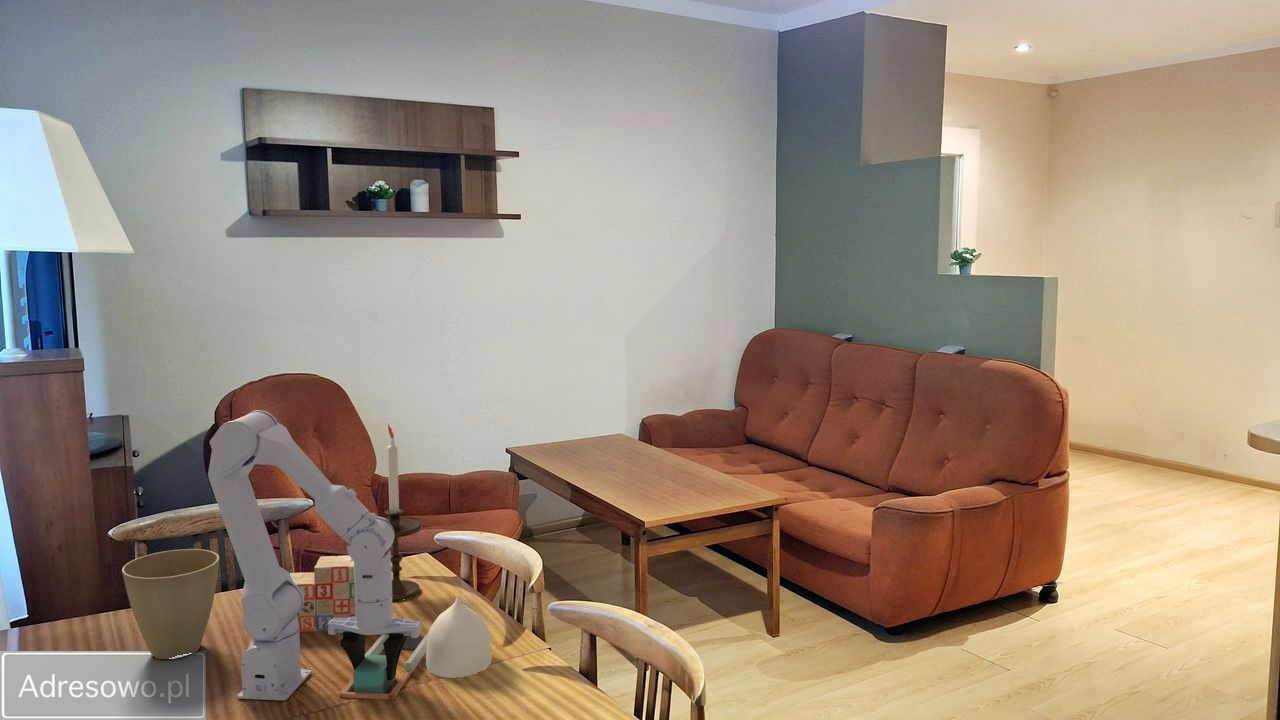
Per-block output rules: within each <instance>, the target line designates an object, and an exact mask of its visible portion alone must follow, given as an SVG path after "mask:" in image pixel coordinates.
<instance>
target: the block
mask: <svg viewBox="0 0 1280 720" xmlns="http://www.w3.org/2000/svg"><path fill="white" fill-rule="evenodd" d="M352 675H353V677H352V678H353V679H354V687H353V692H357V693H379V694H386V693H387V691H388V690H389V688H390V687H391V685H392V684H393V682H395V680H396V676H395V677H394V678H393V680H391V681H390V680H388V679H387V661H386V654H384V655H382V654H379V655H367V656H366V657H365V658H364V660H363V661H362V662H361V663H360V664H359V666H358V667H357V668H356V669H355V670H354V669H353V672H352Z"/></svg>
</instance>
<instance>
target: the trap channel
mask: <svg viewBox="0 0 1280 720" xmlns="http://www.w3.org/2000/svg"><path fill="white" fill-rule="evenodd" d="M429 631H430V629H429V630H428V632H427V633H426V634H425V636H422V635H419V636H418V637H417V638H411V636H407V639H406V641H405V643H404V645H403V648H402V650H406V651H407V650H408V651H409V650H412V651H413V652H412V654H411V655H410V656H409V658H408V659H407V660H406V661H405V671H404V673H403V674H402V676H401V677H400V679H399V680H398V681H397V683H396V684H395V685H394V687H393V688H392V690H391V691H390V693H385V694H379V693H357V692H354V691H352V690H353V689H354V679H353V677H352V678H351V679H350V680H349V682H348V683H347V684H346V685H345V686H344V687H343V689H342V690H341V692H340V693H339V698H346V699H347V698H349V699H350V698H351V699H367V700H368V699H372V700H388V701H389V700H390V701H392V700H393V701H394V699H395V698H396V696H397V695H398V694H399V693H400V690H401V689H402V688H403V686H404V685H405V684H406V682H407V681H408V679H409V678H410V676H411V675H412V673H413V672H414V671H415V669H416V668H417V666H418V665H419V663H420V662H421V660H422V659H423V658H424V657H425V655H426V652H427V637H428V634H429ZM388 637H389V635H380V636H379V637H378V638H377V639H376V640H375V642H374V643H373V645H371V647H370V648H369V649H368V651H366V652H365V657H366V656H367V655H381V653H382V652H383V650H385V649H384V646H383V643H384V642H385V640H386V639H387V638H388Z"/></svg>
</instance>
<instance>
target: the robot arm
mask: <svg viewBox="0 0 1280 720" xmlns="http://www.w3.org/2000/svg"><path fill="white" fill-rule="evenodd" d="M209 445H210V448H211V454H210V460H209V466H208V471H207V477H208V481H209V484H210V486H211V489H212V492H213V494H214V498H215V501H216V503H217V506H218V508H219V512H220V515H221V518H222V520H223V523H224V525H225V526H224V527H225V528H226V531H227V535H228V537H229V540H230V543H231V546H232V548H233V552H234V554H235V556H236V561H237V563H238V566H239V568H240V571H241V574H242V577H243V579H244V584H243V589H242V591H241V592H242V593H241V596H240V602H241V606H242V609H243V614H242V621H241V622H242V625H243V629H244V630H245V632H246V633H247V634H248V635H249V636H250V641H249V645H248V647H247V650H245V651H244V653H243V655H242V657H241V660H240V670H241V672H240V673H241V687H242V688H241V689H242V690H241V691H240V692H239V693H237V695H236V696H237V697H236V698H237V699H239V700H241V699H244V700H266V701H286V700H288V699H289V698H290V697H291V696H292V694H293V693H295V691H296V690H297V689H298V688H299V687H300V686H301V685H302V684H303V683H304V681H305V680H306V679H307V678H308V677H309V676H310V675H311V674H312V670H310V669H301V668H302V667H301V666H302V665H301V644H300V641H301V640H300V631H299V623H298V620H297V614H298V613H299V612H300V611H301V609H302V607H303V604H304V596H303V593H302V591H301V589H300V588H299V587H298V586H297V585H296V584H295V583H294V582H293V580H292V578H291V576H290V573H291V572H289V571H288V570H286V569H285V568H283V567H281V566H280V564H279V561H278V558H277V555H276V552H275V550H274V546H273V544H272V541H271V538H270V535H269V532H268V529H267V526H266V524H265V521H264V518H263V515H262V511H261V509H260V506H259V503H258V500H257V498H256V495H255V492H254V489H253V486H252V483H251V481H250V478H249V475H250V472H251V471H252V470H253V468H254V466H255V465H265V466H275V467H277V468H279V469H280V470H281V471H282V472H283V473H284V474H286V475H287V476H288V477H289V478H290V479H291V480H293V482H295V484H297V486H299V487H300V488H301V489H302V490H303V491H304V492H306V493H307V494H308V495H309V496H310V497H312V499H314V502H315V503H314V505H315V512H316V514H317V515H318V516H319V517H320V518H321V519H322V520H323V521H324V522H325V523H326V524H327V525H328V526H330V528H331V529H332V530H333V531H334V532H335V533H336V534H337V535H338V536H340V538H341V539H342V540H343V541H345V542H346V543H347V544H348V545H346V551H347V553H348V555H349V556H350V557H351V559H352V560H353V561H354V588H355V617H350V618H333V619H332V620H331V621H330V622H329V623H328V635H329V636H331V635H333V636H335V635H336V634H342V638H341V639H340V642H339V643H340V647H341V648H342V649H343V650H344V652H345V653H346V656H347V657H348V659H349V661H350V664H351V665H352V668H353V671H354V670H355V669H356V668H357V667H358V666H359V664H360V663H361V662H362V661H363V660H364V658H365V654H366V639H367V636H374V635H375V636H376V635H377V636H379V635H380V636H381V635H389V637H388V638H387V639H386V640H385V642H384V643H383V646H384V649H383V650H384V653H385V654H384V655H386V661H387V679H388V680H390V681H391V680H393V678H394V677H395V678H396V675H397V669H398V663H399V660H400V656H401V653H402V650H403V649H402V648H403V645H404V643H405V641H406V639H407V636H411V638H417V637H418V636H421V634H422V623H421V621H416V620H415V621H414V620H410V619H405V618H400V617H395V616H394V614H393V612H394V611H393V602H392V580H393V572H392V571H391V567H392V562H391V556H390V555H391V550H389V549H390V548H392V543H393V541H394V538H395V533H394V529H393V527H392V526H391V524H390V523H389V521H388V520H387V519H385V517H382V516H378V515H377V514H376V513H375V512H371V511H370V510H369V509H368V508H367V507H366V506H365V505H364V504H363V503H362V502H361V501H360V500H359V499H358V498H357V497H356V496H357V495H358V493H357V492H356V491H355V490H354V489H353V488H350V489H348V488H347V487H346V486H345V485H339V484H332V482H331V481H330V480H329V479H328V478H327V476H325V475H324V473H323V472H322V471H321V469H319V467H317V465H316V464H315V463H314V462H313V461H312V460H311V459H310V458H309V456H308V455H307V454H306V452H304V451H303V449H302V448H301V447H300V446H299V445H298V443H296V441H294V439H293V437H292V435H291V434H290V432H289V430H288V429H287V427H286V426H284V425H283V424H281V423H279V422H278V420H277V418H276V417H275V416H274V415H272V414H271V413H270V412H268V411H266V410H253V411H251V412H248V413H247V414H245V415H244V416H241V417H239V418H236V419H233V420H229V421H227V422H225V423H223V424H221V426H220V427H219V428H218V429H217V431H216V432H215V433H214V435H213V436H212V437H211V439H210V440H209Z"/></svg>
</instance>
